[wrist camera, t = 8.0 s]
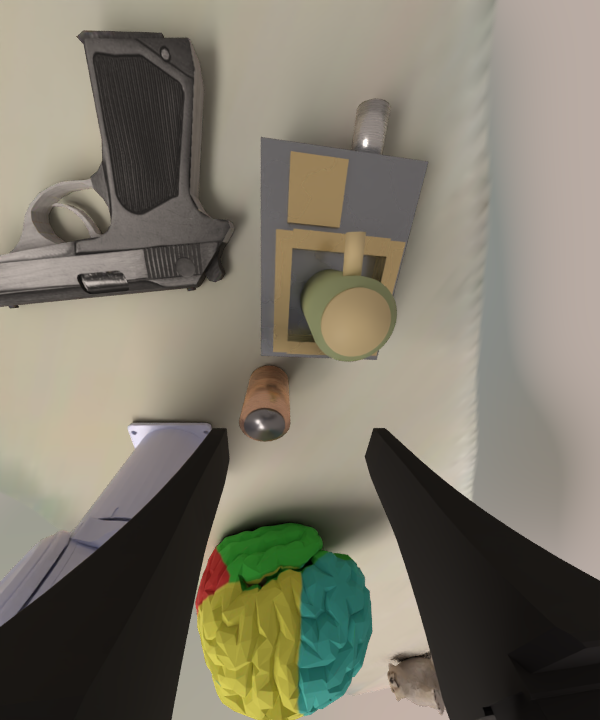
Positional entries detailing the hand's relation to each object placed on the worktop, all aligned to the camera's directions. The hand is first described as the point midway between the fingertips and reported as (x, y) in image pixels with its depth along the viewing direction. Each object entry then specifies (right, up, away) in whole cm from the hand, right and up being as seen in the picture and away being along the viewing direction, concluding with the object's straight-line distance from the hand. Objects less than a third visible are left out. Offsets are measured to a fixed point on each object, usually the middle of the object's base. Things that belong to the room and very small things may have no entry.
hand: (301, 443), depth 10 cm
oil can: (+2, +8, +4) cm, 9 cm away
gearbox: (+2, +12, +6) cm, 14 cm away
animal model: (+42, -105, +67) cm, 131 cm away
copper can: (-3, +2, +10) cm, 11 cm away
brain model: (-3, -26, +24) cm, 36 cm away
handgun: (-14, +15, +4) cm, 21 cm away
